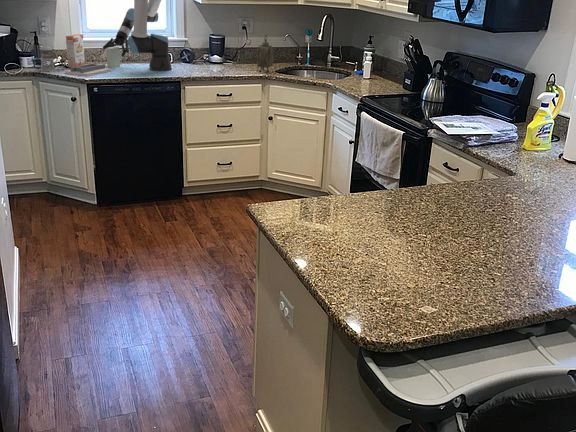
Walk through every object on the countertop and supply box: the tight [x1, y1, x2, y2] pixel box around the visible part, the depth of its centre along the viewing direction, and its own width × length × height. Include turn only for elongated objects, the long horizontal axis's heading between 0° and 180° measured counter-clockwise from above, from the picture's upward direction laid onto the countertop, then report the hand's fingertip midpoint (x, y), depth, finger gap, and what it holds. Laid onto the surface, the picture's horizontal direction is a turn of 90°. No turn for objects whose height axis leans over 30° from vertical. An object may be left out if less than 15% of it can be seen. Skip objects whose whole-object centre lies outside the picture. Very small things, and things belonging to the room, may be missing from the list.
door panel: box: [106, 46, 121, 69], centre depth 430 cm, size 4×9×13 cm, turn 158°
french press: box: [39, 30, 59, 72], centre depth 404 cm, size 10×12×25 cm
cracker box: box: [65, 33, 86, 69], centre depth 423 cm, size 14×6×21 cm, turn 171°
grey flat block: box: [64, 62, 112, 77], centre depth 408 cm, size 18×24×4 cm
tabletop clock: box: [256, 34, 275, 73], centre depth 435 cm, size 14×9×25 cm, turn 170°
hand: (111, 58), depth 428 cm, fingers open, 13 cm apart
